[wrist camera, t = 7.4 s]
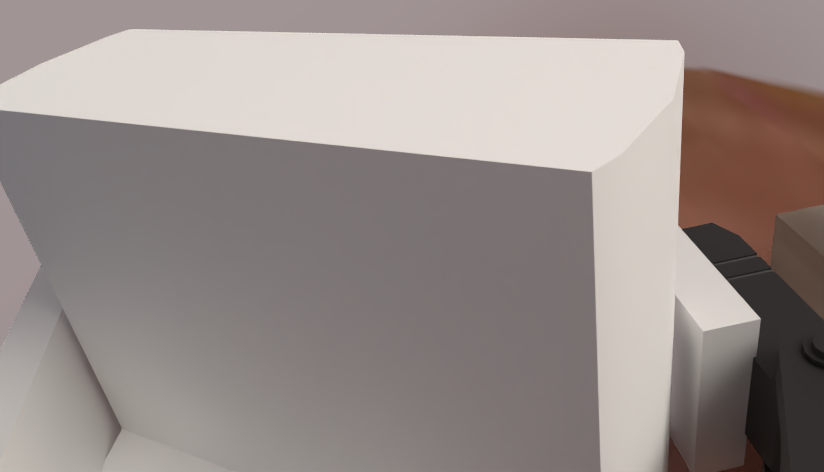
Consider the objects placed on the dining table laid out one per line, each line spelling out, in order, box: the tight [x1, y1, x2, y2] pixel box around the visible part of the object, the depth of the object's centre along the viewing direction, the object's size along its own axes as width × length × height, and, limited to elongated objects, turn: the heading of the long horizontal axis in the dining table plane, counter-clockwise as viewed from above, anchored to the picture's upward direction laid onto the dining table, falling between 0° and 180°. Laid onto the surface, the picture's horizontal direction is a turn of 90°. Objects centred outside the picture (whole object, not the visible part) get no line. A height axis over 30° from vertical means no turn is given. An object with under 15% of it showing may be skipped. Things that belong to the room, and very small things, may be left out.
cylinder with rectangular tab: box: [0, 29, 684, 472], centre depth 12 cm, size 9×9×12 cm
